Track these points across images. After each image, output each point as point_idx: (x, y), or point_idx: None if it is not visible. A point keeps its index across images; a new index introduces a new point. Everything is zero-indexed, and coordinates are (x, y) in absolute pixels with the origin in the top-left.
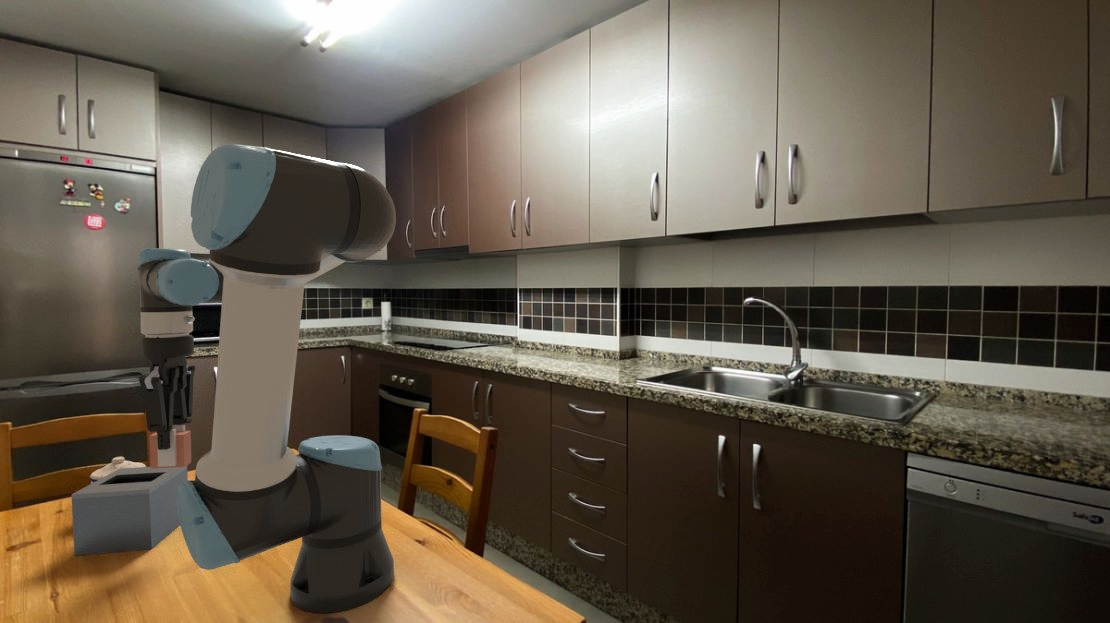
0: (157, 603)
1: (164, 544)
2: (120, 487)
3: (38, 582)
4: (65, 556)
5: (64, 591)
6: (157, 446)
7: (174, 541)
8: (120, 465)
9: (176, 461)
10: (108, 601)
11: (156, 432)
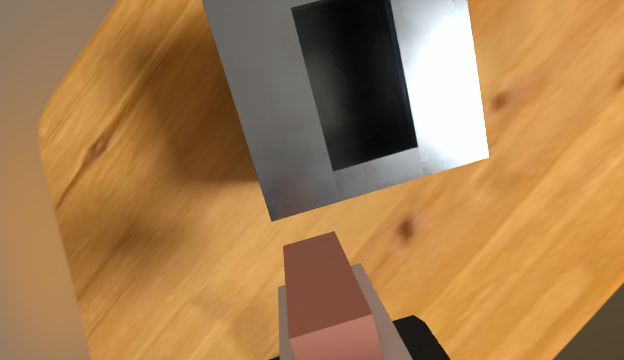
0: (114, 339)
1: None
2: (276, 112)
3: (127, 68)
4: None
5: (111, 153)
6: (281, 345)
7: None
8: None
9: None
10: (102, 260)
11: (359, 320)
